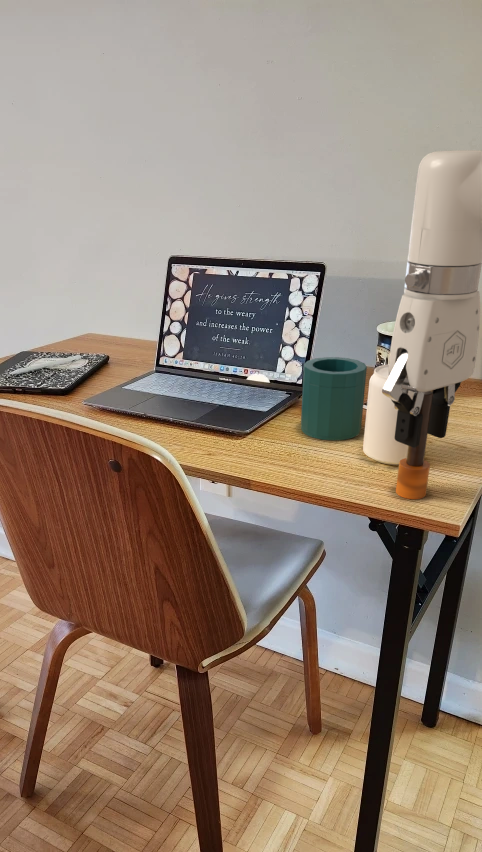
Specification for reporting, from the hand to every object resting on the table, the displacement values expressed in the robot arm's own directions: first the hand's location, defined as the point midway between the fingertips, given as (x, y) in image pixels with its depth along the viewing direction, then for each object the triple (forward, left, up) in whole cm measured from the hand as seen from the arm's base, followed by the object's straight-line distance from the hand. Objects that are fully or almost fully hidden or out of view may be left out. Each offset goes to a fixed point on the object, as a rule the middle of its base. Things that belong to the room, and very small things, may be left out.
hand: (419, 437), depth 82 cm
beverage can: (+5, -11, -8) cm, 14 cm away
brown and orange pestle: (0, 0, -7) cm, 7 cm away
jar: (+15, -17, -7) cm, 24 cm away
